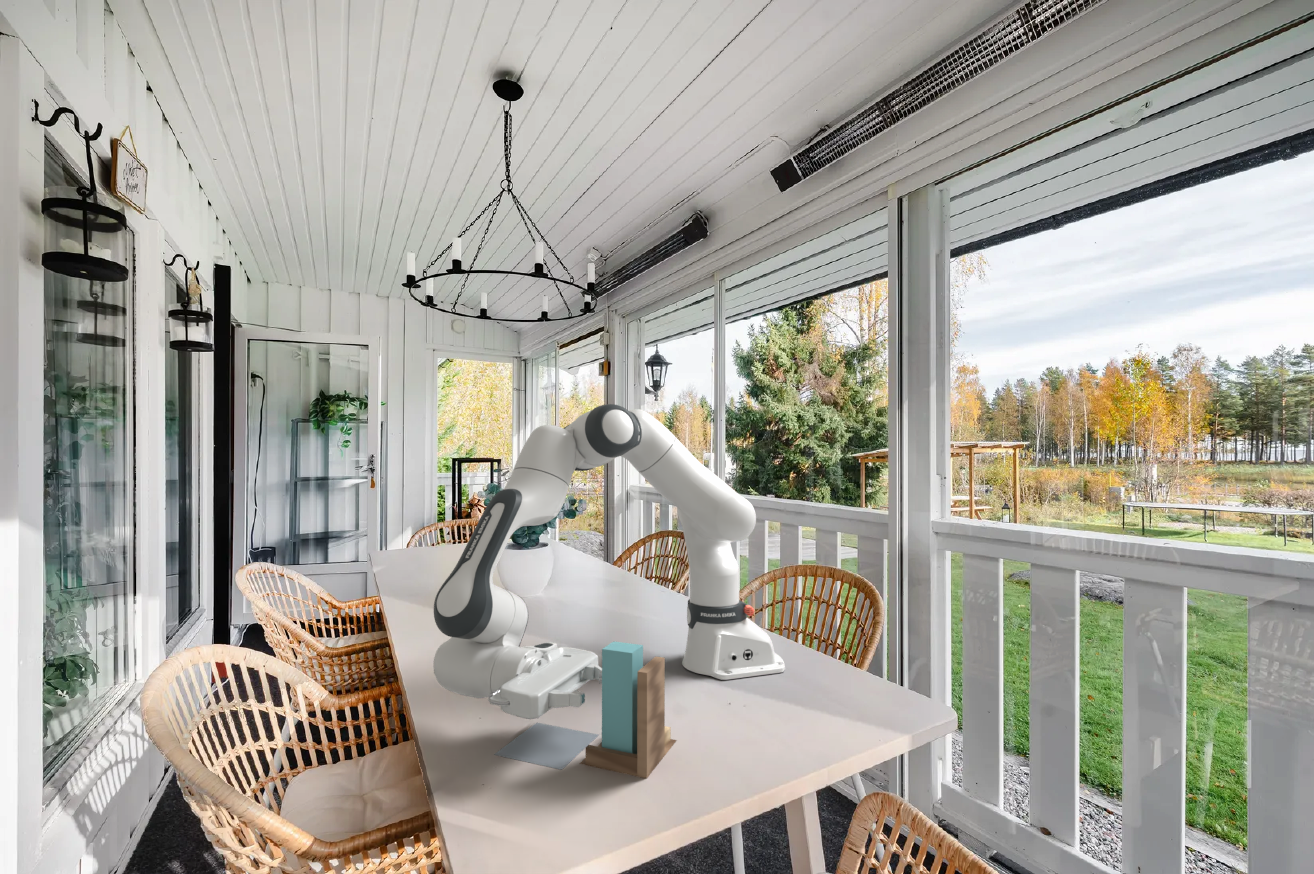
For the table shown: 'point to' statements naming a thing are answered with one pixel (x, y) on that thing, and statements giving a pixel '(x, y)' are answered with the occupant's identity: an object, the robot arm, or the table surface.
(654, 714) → the walnut rack
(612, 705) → the tall teal block
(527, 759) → the slate mat
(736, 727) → the table surface
